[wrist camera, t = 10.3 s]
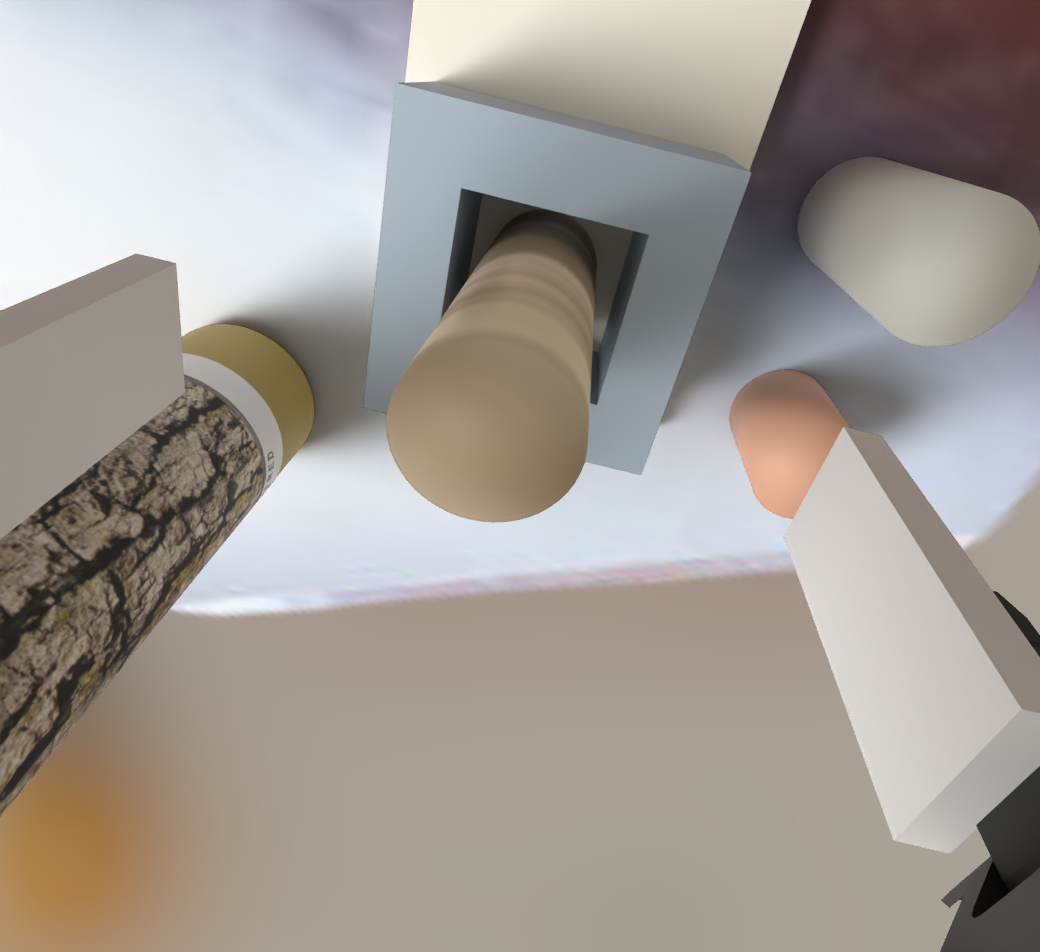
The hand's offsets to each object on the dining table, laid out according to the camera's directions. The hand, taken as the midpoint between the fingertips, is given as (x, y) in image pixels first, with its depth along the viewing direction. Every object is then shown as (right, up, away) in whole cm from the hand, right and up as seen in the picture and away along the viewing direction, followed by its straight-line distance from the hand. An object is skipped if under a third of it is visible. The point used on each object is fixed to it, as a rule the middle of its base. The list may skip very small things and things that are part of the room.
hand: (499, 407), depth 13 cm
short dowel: (+11, +1, +15) cm, 19 cm away
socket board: (+2, +10, +11) cm, 15 cm away
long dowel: (+1, +7, +12) cm, 14 cm away
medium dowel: (+13, +8, +11) cm, 18 cm away
